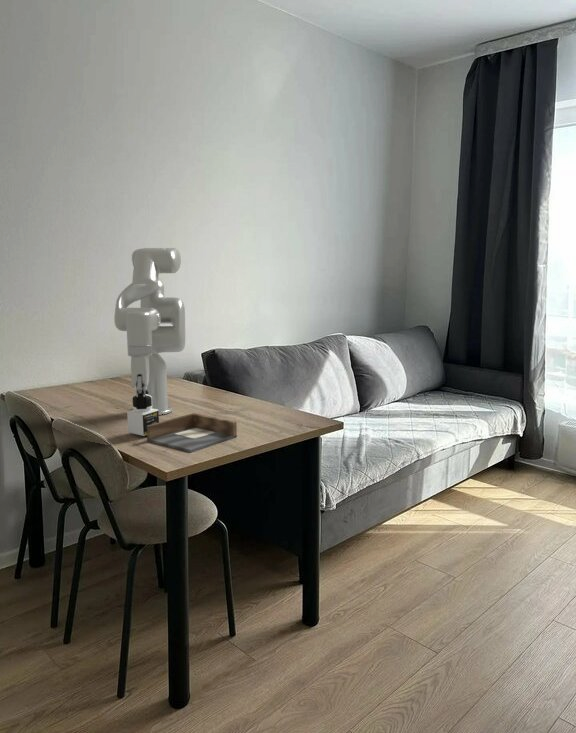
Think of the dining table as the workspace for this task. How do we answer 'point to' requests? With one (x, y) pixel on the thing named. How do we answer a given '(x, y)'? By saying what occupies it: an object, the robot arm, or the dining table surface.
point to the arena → (191, 432)
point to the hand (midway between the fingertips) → (142, 405)
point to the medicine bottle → (142, 417)
